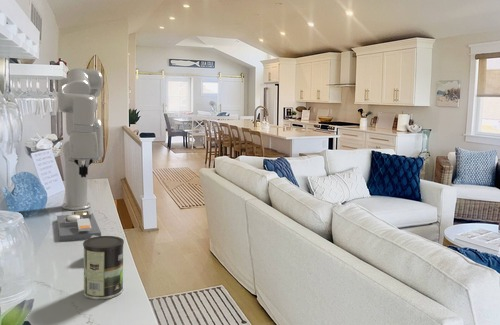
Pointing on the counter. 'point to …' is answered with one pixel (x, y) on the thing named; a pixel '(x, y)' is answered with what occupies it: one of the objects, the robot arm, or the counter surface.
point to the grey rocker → (84, 224)
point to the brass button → (81, 213)
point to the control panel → (76, 228)
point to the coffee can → (103, 267)
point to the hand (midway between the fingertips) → (83, 176)
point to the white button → (73, 218)
